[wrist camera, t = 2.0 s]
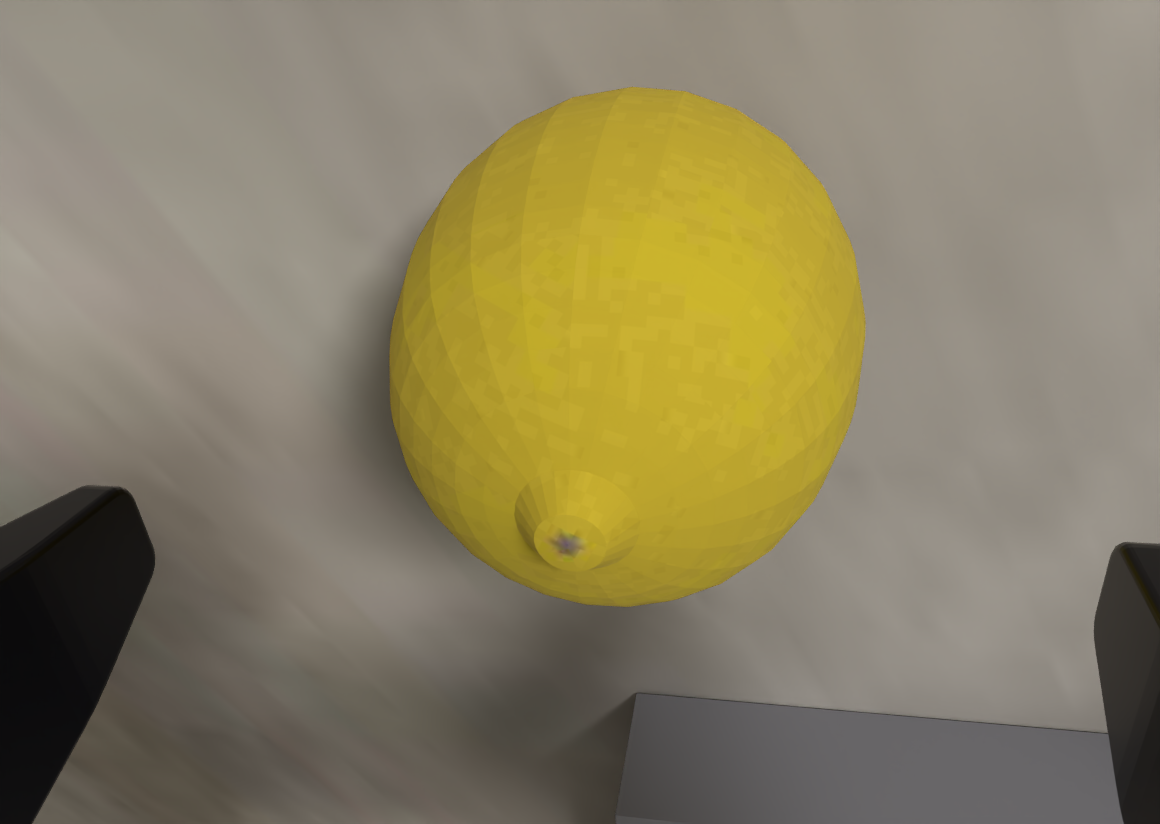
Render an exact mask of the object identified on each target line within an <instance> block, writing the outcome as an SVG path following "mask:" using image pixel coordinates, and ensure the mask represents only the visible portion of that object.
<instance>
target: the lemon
mask: <svg viewBox="0 0 1160 824" xmlns="http://www.w3.org/2000/svg"><path fill="white" fill-rule="evenodd" d="M864 342H865V314H864V307H863V301H862V295H861V290H860V284H859V278H858V272H857V266H856V260H855V254H854V251H853V248H852V245H851V242H850V240H849V238H848V236H847V234H846V231H845V229H844V227H843V225H842V223H841V221H840V219H839V217H838V215H837V213H836V211H835V209H834V207H833V204H832V202H831V200H830V198H829V196H828V194H827V192H826V190H825V189H824V187H823V185H822V184H821V182H820V181H819V180H818V179H817V178H816V177H815V176H814V174H813V173H812V172H811V171H810V170H809V169H808V168H807V166H806V165H805V164H804V163H803V162H802V161H801V160H800V159H799V157H798V156H797V155H796V154H795V153H794V152H793V151H792V149H791V148H790V147H789V146H788V145H787V144H786V143H785V142H784V141H783V140H782V139H781V138H779V137H778V136H776V135H775V134H773V133H772V132H770V131H769V130H767V129H766V128H764V127H763V126H761V125H760V124H758V123H757V122H755V121H754V120H752V119H750V118H749V117H747V116H746V115H744V114H743V113H741V112H740V111H738V110H737V109H735V108H732V107H729V106H726V105H723V104H720V103H717V102H715V101H712V100H709V99H706V98H703V97H700V96H697V95H694V94H692V93H689V92H686V91H675V90H663V89H651V88H639V87H629V88H623V89H618V90H612V91H606V92H601V93H595V94H590V95H584V96H578V97H573V98H571V99H568V100H566V101H564V102H562V103H560V104H558V105H556V106H553V107H551V108H549V109H547V110H545V111H543V112H541V113H538V114H536V115H534V116H532V117H530V118H528V119H526V120H524V121H522V122H520V123H518V124H516V125H514V126H513V127H512V128H511V129H510V130H508V131H507V132H506V133H505V134H504V135H502V136H501V137H500V138H499V139H498V140H497V141H495V142H494V143H493V144H492V145H491V146H490V147H488V148H487V149H486V150H485V151H484V152H483V153H481V154H480V155H479V156H478V157H477V158H476V159H474V160H473V161H472V162H471V163H470V164H469V165H468V166H466V167H465V168H464V169H463V170H462V171H461V173H460V174H459V175H458V176H457V177H456V179H455V180H454V181H453V183H452V185H451V186H450V188H449V189H448V191H447V192H446V194H445V196H444V197H443V199H442V200H441V202H440V203H439V205H438V207H437V208H436V210H435V211H434V213H433V214H432V216H431V218H430V219H429V221H428V222H427V224H426V226H425V227H424V229H423V231H422V232H421V234H420V236H419V238H418V240H417V242H416V245H415V247H414V249H413V252H412V255H411V258H410V262H409V265H408V269H407V272H406V276H405V279H404V283H403V287H402V290H401V294H400V297H399V301H398V304H397V308H396V311H395V315H394V319H393V324H392V330H391V336H390V354H389V362H390V405H391V412H392V420H393V423H394V427H395V430H396V433H397V436H398V440H399V443H400V446H401V449H402V452H403V456H404V459H405V462H406V465H407V467H408V469H409V472H410V474H411V476H412V479H413V480H414V482H415V484H416V485H417V487H418V489H419V490H420V492H421V493H422V495H423V497H424V498H425V500H426V502H427V503H428V505H429V507H430V508H431V510H432V511H433V513H434V515H435V516H436V517H437V518H438V519H439V520H440V521H441V522H442V523H443V524H444V525H445V526H446V527H447V529H448V530H449V531H450V532H451V533H452V534H453V535H454V536H455V537H456V538H457V539H458V540H459V541H460V542H461V543H462V544H463V545H464V546H465V547H466V548H467V549H468V550H469V551H470V552H471V554H473V555H474V556H476V557H477V558H478V559H480V560H481V561H483V562H484V563H486V564H487V565H489V566H490V567H492V568H493V569H494V570H496V571H497V572H499V573H500V574H502V575H503V576H505V577H506V578H508V579H511V580H513V581H515V582H517V583H520V584H522V585H524V586H526V587H529V588H531V589H533V590H536V591H538V592H540V593H542V594H545V595H549V596H553V597H557V598H561V599H565V600H569V601H573V602H577V603H581V604H585V605H602V606H621V607H630V606H637V605H645V604H652V603H659V602H666V601H671V600H675V599H679V598H682V597H685V596H688V595H691V594H693V593H696V592H699V591H702V590H705V589H707V588H710V587H713V586H716V585H719V584H721V583H723V582H724V581H726V580H727V579H729V578H730V577H732V576H733V575H735V574H736V573H738V572H739V571H741V570H742V569H744V568H746V567H747V566H749V565H750V564H752V563H753V562H755V561H756V560H758V559H759V558H760V557H762V556H763V555H765V554H766V553H768V552H769V551H771V550H772V549H773V548H774V547H775V545H776V544H777V543H778V542H779V541H780V540H781V539H782V537H783V536H784V535H785V534H786V533H787V532H788V531H789V529H790V528H791V527H792V526H793V525H794V524H795V523H796V521H797V520H798V519H799V518H800V517H801V516H802V514H803V513H804V512H805V511H806V510H807V508H808V507H809V506H810V505H811V504H812V502H813V501H814V499H815V498H816V496H817V494H818V492H819V490H820V489H821V487H822V485H823V483H824V481H825V479H826V477H827V474H828V472H829V470H830V468H831V466H832V464H833V462H834V459H835V457H836V455H837V453H838V451H839V449H840V446H841V444H842V442H843V440H844V437H845V435H846V433H847V430H848V428H849V425H850V423H851V419H852V416H853V413H854V409H855V406H856V400H857V394H858V388H859V380H860V372H861V365H862V357H863V350H864Z"/></svg>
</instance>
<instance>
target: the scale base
mask: <svg viewBox="0 0 1160 824" xmlns="http://www.w3.org/2000/svg"><path fill="white" fill-rule="evenodd" d="M615 819H616V824H1124V823H1123V819H1122V815H1121V811H1120V805H1119V800H1118V794H1117V788H1116V782H1115V775H1114V769H1113V762H1112V756H1111V749H1110V742H1109V736H1108V734H1102V733H1091V732H1079V731H1068V730H1056V729H1045V728H1033V727H1022V726H1010V725H998V724H987V723H975V722H964V721H952V720H941V719H929V718H918V717H906V716H895V715H883V714H872V713H860V712H849V711H837V710H826V709H814V708H803V707H791V706H779V705H768V704H756V703H745V702H733V701H722V700H710V699H699V698H687V697H676V696H664V695H653V694H641V693H637V694H636V700H635V706H634V711H633V717H632V723H631V728H630V734H629V740H628V745H627V751H626V757H625V762H624V768H623V774H622V779H621V785H620V791H619V797H618V802H617V808H616V814H615Z"/></svg>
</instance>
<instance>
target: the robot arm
mask: <svg viewBox="0 0 1160 824" xmlns="http://www.w3.org/2000/svg"><path fill="white" fill-rule="evenodd" d="M154 567H155V552H154V548H153V545H152V543H151V540H150V538H149V535H148V533H147V530H146V528H145V525H144V522H143V520H142V517H141V515H140V512H139V510H138V507H137V505H136V502H135V500H134V498H133V496H132V495H131V494H130V493H129V492H128V491H127V490H126V489H124V488H121V487H117V486H99V485H87V486H82V487H80V488H77V489H75V490H73V491H71V492H69V493H67V494H65V495H63V496H61V497H59V498H57V499H55V500H53V501H51V502H49V503H47V504H45V505H43V506H41V507H39V508H37V509H35V510H33V511H31V512H29V513H27V514H25V515H23V516H21V517H19V518H17V519H15V520H13V521H11V522H9V523H7V524H6V525H4V526H2V527H0V824H32V823H33V822H34V820H35V818H36V816H37V814H38V812H39V811H40V809H41V807H42V805H43V803H44V802H45V800H46V798H47V796H48V794H49V792H50V791H51V789H52V787H53V785H54V783H55V782H56V780H57V778H58V776H59V774H60V772H61V771H62V769H63V767H64V765H65V763H66V762H67V760H68V758H69V756H70V754H71V752H72V751H73V749H74V747H75V745H76V743H77V742H78V740H79V738H80V736H81V734H82V733H83V731H84V729H85V727H86V725H87V723H88V721H89V719H90V717H91V715H92V713H93V711H94V710H95V708H96V705H97V703H98V701H99V699H100V697H101V694H102V692H103V690H104V688H105V686H106V684H107V681H108V679H109V676H110V674H111V672H112V669H113V667H114V665H115V662H116V660H117V658H118V655H119V653H120V651H121V648H122V646H123V644H124V641H125V639H126V637H127V634H128V632H129V629H130V627H131V625H132V622H133V620H134V618H135V615H136V613H137V611H138V608H139V606H140V604H141V601H142V599H143V597H144V594H145V592H146V590H147V587H148V585H149V582H150V580H151V578H152V575H153V571H154ZM1094 642H1095V649H1096V656H1097V663H1098V669H1099V676H1100V683H1101V689H1102V696H1103V703H1104V709H1105V716H1106V722H1107V729H1108V736H1109V742H1110V749H1111V756H1112V762H1113V769H1114V775H1115V782H1116V788H1117V794H1118V800H1119V805H1120V811H1121V815H1122V819H1123V823H1124V824H1160V544H1152V543H1134V542H1123V543H1121V544H1119V545H1117V546H1116V547H1115V549H1114V550H1113V552H1112V554H1111V556H1110V560H1109V564H1108V567H1107V571H1106V575H1105V579H1104V583H1103V587H1102V591H1101V594H1100V598H1099V602H1098V606H1097V610H1096V614H1095V621H1094Z"/></svg>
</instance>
